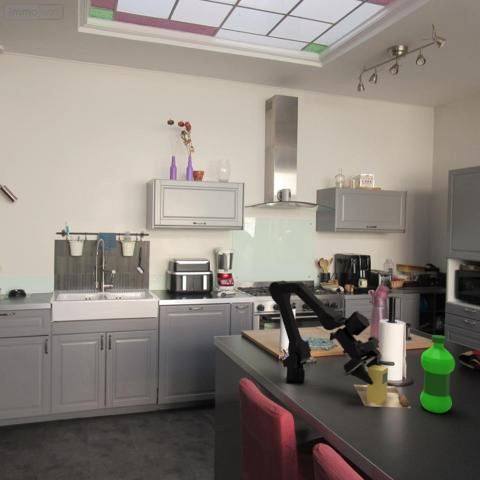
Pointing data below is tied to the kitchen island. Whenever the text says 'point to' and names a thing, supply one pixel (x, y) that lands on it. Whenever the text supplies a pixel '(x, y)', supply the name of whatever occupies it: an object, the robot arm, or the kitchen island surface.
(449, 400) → the plastic bottle
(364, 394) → the panel
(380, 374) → the tall mustard yellow pillar
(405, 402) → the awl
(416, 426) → the kitchen island surface
